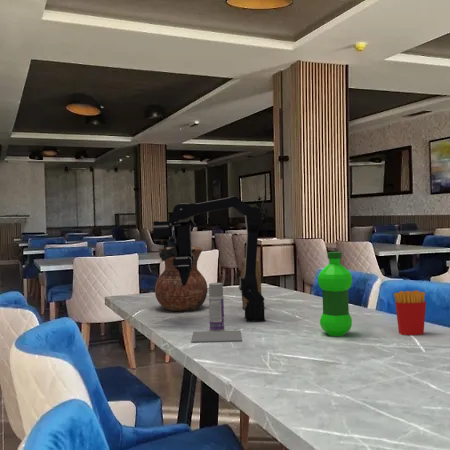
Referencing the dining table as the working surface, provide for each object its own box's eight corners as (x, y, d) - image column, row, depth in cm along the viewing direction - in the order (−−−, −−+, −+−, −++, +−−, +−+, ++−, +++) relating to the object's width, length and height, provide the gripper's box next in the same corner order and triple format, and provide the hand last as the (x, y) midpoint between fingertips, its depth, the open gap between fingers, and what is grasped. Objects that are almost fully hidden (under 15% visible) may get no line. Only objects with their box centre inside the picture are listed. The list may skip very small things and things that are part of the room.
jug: (215, 310, 206) (213, 246, 205) (163, 315, 198) (161, 249, 198) (197, 302, 226) (195, 244, 226) (149, 306, 219) (147, 246, 218)
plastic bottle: (340, 329, 167) (338, 250, 167) (360, 335, 158) (358, 252, 157) (313, 332, 164) (311, 252, 163) (331, 339, 154) (329, 254, 153)
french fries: (422, 331, 161) (421, 289, 161) (428, 334, 157) (427, 291, 157) (392, 332, 161) (392, 290, 161) (397, 335, 157) (397, 292, 156)
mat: (240, 331, 167) (240, 330, 167) (242, 341, 154) (242, 339, 154) (193, 332, 167) (193, 331, 167) (191, 342, 154) (191, 341, 154)
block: (262, 310, 204) (261, 258, 204) (243, 310, 204) (241, 259, 203) (259, 305, 215) (257, 256, 215) (240, 306, 215) (239, 257, 214)
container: (216, 327, 175) (215, 282, 174) (227, 329, 172) (225, 283, 171) (206, 330, 171) (205, 284, 171) (217, 331, 168) (216, 284, 168)
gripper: (162, 239, 193) (164, 281, 194) (156, 241, 175) (158, 288, 175) (193, 237, 193) (195, 280, 194) (190, 240, 175) (192, 287, 175)
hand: (185, 283), depth 184 cm, fingers open, 9 cm apart
